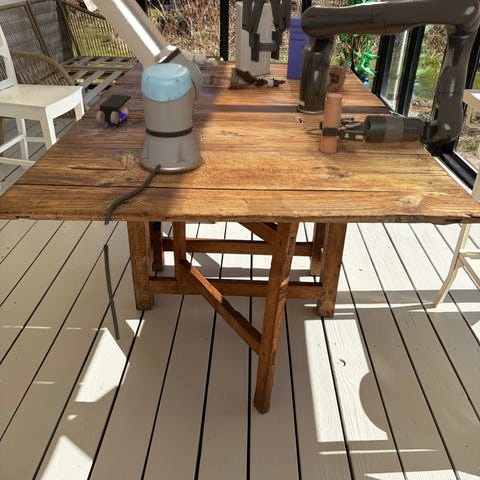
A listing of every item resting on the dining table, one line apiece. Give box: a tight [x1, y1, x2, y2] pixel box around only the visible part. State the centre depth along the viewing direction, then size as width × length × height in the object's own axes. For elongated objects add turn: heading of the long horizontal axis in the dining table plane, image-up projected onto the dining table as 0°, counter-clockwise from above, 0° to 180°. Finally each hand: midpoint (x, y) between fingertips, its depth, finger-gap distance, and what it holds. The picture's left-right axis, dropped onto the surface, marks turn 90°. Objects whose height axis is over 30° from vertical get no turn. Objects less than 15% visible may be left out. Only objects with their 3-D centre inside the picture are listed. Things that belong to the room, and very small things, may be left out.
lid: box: [259, 39, 277, 52], centre depth 119 cm, size 6×6×2 cm
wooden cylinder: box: [319, 93, 344, 154], centre depth 129 cm, size 5×5×15 cm
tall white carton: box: [234, 1, 273, 77], centre depth 210 cm, size 19×15×28 cm
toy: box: [181, 50, 219, 69], centre depth 223 cm, size 24×25×7 cm
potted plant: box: [327, 58, 349, 93], centre depth 191 cm, size 13×9×15 cm
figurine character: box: [95, 94, 132, 130], centre depth 148 cm, size 7×8×15 cm
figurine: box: [209, 66, 287, 89], centre depth 190 cm, size 24×8×30 cm
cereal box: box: [286, 16, 309, 80], centre depth 203 cm, size 17×5×24 cm, turn 86°
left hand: (264, 59), depth 121 cm, fingers closed on lid, 5 cm apart
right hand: (321, 128), depth 130 cm, fingers closed on wooden cylinder, 4 cm apart
